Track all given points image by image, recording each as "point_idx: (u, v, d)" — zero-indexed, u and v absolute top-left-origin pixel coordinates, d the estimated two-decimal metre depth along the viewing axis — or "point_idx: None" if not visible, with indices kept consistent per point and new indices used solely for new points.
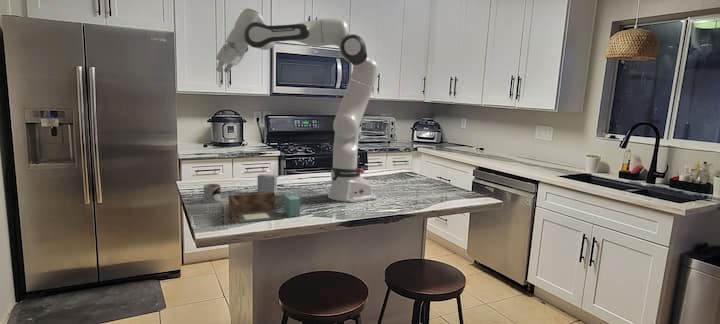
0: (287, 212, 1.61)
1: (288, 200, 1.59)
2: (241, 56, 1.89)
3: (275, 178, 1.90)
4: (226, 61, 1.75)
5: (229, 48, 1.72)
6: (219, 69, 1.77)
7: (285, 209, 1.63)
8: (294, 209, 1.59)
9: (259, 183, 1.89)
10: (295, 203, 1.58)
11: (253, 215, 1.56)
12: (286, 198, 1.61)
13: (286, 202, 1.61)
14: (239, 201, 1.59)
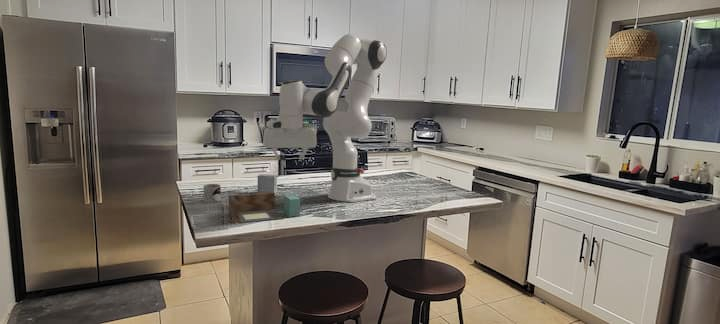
0: (287, 212, 1.61)
1: (288, 200, 1.59)
2: None
3: (275, 178, 1.90)
4: None
5: None
6: None
7: (285, 209, 1.63)
8: (294, 209, 1.59)
9: (259, 183, 1.89)
10: (295, 203, 1.58)
11: (253, 215, 1.56)
12: (286, 198, 1.61)
13: (286, 202, 1.61)
14: (239, 201, 1.59)
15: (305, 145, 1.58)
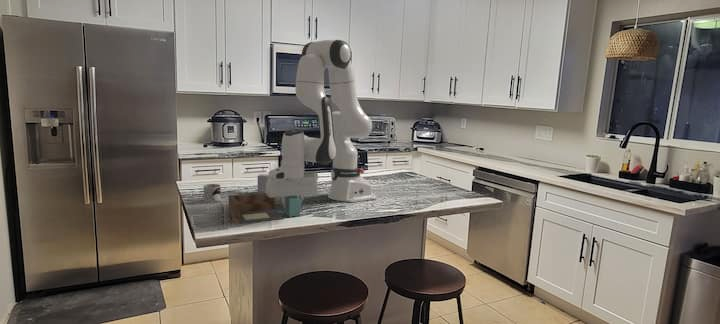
0: (287, 212, 1.61)
1: (288, 200, 1.59)
2: None
3: None
4: None
5: None
6: None
7: (285, 209, 1.63)
8: (294, 209, 1.59)
9: (259, 183, 1.89)
10: (295, 203, 1.58)
11: (253, 215, 1.56)
12: (286, 198, 1.61)
13: (286, 201, 1.61)
14: (239, 201, 1.59)
15: (307, 193, 1.62)
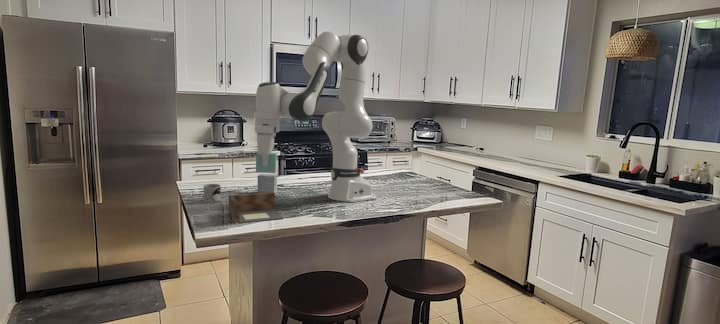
0: (267, 169, 1.53)
1: (271, 156, 1.52)
2: None
3: (275, 178, 1.90)
4: None
5: None
6: None
7: (259, 168, 1.52)
8: None
9: (259, 183, 1.89)
10: (276, 158, 1.54)
11: (253, 215, 1.56)
12: None
13: None
14: (239, 201, 1.59)
15: None
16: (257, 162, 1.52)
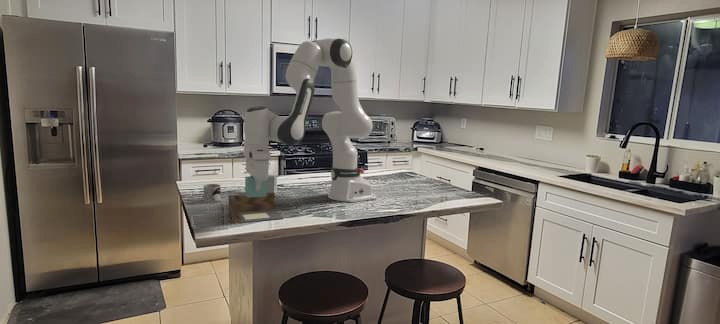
0: (258, 194, 1.53)
1: None
2: None
3: (275, 178, 1.90)
4: (247, 169, 1.58)
5: None
6: None
7: (251, 193, 1.51)
8: None
9: None
10: None
11: (253, 215, 1.56)
12: (254, 180, 1.51)
13: None
14: (239, 201, 1.59)
15: None
16: (249, 187, 1.51)
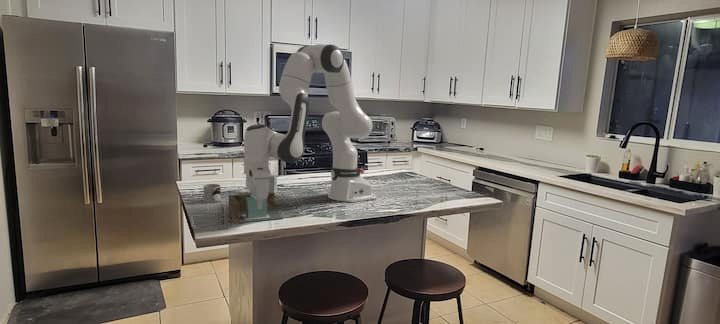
0: (259, 214, 1.54)
1: None
2: None
3: (275, 178, 1.90)
4: (247, 186, 1.59)
5: None
6: None
7: (252, 214, 1.53)
8: None
9: None
10: None
11: None
12: (254, 201, 1.53)
13: (255, 205, 1.53)
14: (239, 201, 1.59)
15: None
16: (249, 208, 1.52)
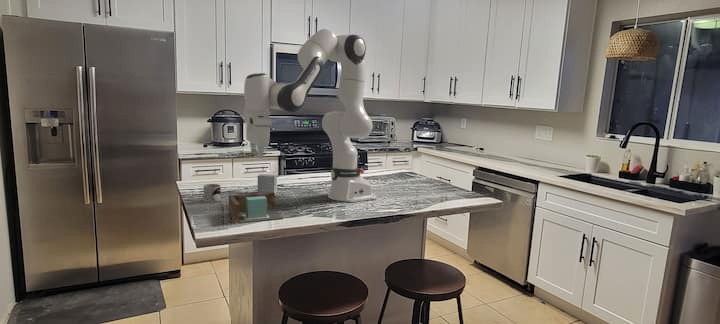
0: (259, 214, 1.54)
1: (262, 201, 1.54)
2: None
3: (275, 178, 1.90)
4: (247, 138, 1.58)
5: None
6: None
7: (252, 214, 1.53)
8: None
9: (259, 183, 1.89)
10: None
11: None
12: (254, 201, 1.53)
13: (255, 205, 1.53)
14: (239, 201, 1.59)
15: None
16: (249, 208, 1.52)
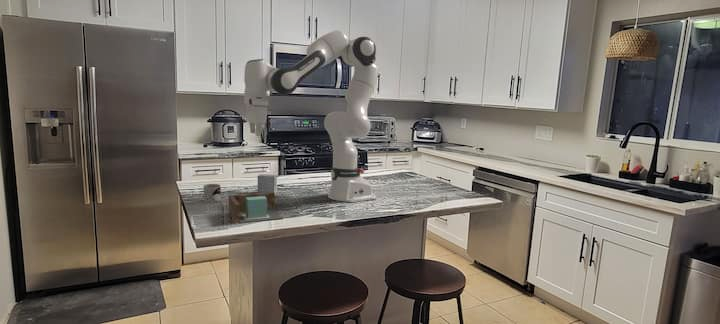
0: (259, 214, 1.54)
1: (262, 201, 1.54)
2: None
3: (275, 178, 1.90)
4: (247, 118, 1.74)
5: None
6: None
7: (252, 214, 1.53)
8: None
9: (259, 183, 1.89)
10: None
11: None
12: (254, 201, 1.53)
13: (255, 205, 1.53)
14: (239, 201, 1.59)
15: None
16: (249, 208, 1.52)
